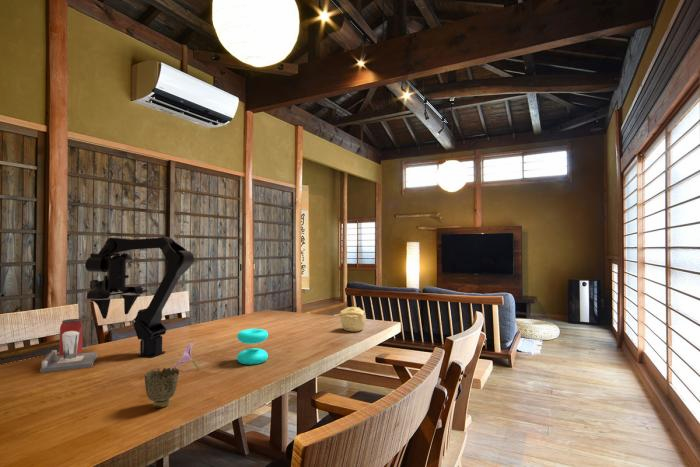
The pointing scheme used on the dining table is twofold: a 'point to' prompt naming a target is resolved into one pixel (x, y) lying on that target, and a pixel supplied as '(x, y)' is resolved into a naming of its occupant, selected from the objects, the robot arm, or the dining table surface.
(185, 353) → the lily
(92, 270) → the robot arm
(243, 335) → the donuts
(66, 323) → the beer can
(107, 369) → the dining table surface
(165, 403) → the cup
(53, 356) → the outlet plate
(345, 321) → the pale yellow rounded lump
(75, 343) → the milkshake
